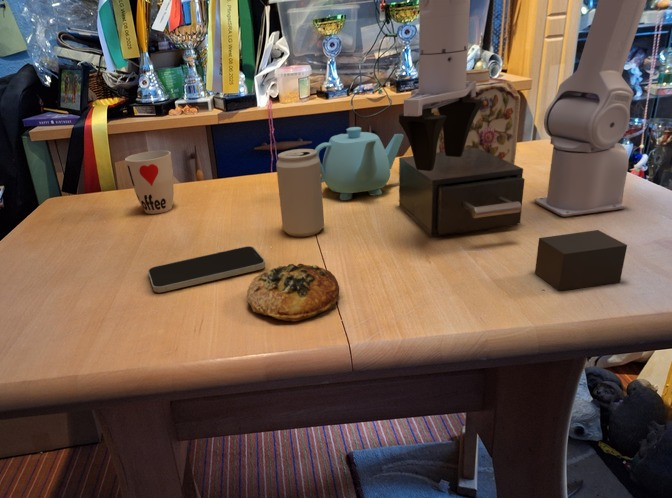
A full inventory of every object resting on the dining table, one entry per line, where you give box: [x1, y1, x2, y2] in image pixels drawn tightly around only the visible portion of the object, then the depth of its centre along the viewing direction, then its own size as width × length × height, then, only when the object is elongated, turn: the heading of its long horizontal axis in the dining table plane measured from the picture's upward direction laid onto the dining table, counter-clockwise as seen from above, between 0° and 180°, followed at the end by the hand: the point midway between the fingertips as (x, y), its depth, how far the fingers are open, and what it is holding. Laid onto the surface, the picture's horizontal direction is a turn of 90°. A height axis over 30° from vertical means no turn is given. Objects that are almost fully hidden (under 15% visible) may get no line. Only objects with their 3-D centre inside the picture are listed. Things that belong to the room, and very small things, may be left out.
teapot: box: [314, 126, 405, 201], centre depth 99 cm, size 15×14×11 cm
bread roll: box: [246, 263, 340, 322], centre depth 64 cm, size 11×11×5 cm
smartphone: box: [147, 245, 266, 293], centre depth 75 cm, size 7×1×15 cm
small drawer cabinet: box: [398, 148, 524, 238], centre depth 84 cm, size 15×13×8 cm
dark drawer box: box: [437, 176, 525, 234], centre depth 80 cm, size 18×11×6 cm, turn 6°
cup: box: [124, 150, 175, 215], centre depth 102 cm, size 8×8×10 cm
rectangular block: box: [534, 229, 628, 292], centre depth 62 cm, size 7×5×4 cm
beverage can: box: [275, 148, 325, 238], centre depth 83 cm, size 6×6×12 cm
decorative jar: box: [432, 68, 521, 165], centre depth 102 cm, size 12×12×18 cm
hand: (439, 162), depth 74 cm, fingers open, 7 cm apart
